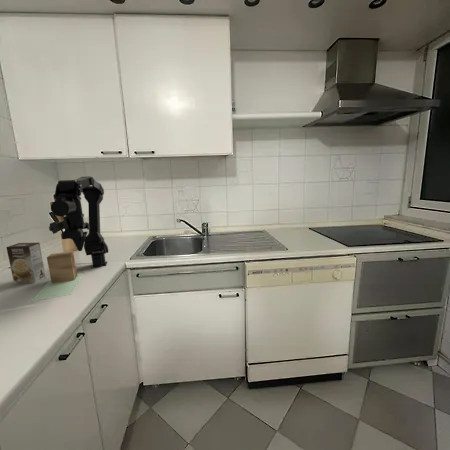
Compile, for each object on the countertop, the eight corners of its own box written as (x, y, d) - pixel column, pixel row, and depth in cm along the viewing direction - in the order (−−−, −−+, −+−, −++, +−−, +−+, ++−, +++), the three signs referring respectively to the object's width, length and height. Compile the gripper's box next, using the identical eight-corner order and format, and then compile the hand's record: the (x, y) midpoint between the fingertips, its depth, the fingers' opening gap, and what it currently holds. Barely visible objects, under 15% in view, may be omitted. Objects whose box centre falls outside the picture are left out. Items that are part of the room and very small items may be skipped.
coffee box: (13, 285, 96) (4, 247, 93) (25, 278, 102) (18, 242, 100) (36, 283, 96) (28, 245, 93) (47, 277, 103) (40, 241, 100)
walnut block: (55, 279, 99) (51, 254, 97) (77, 275, 102) (73, 251, 100) (51, 283, 95) (46, 257, 93) (74, 280, 97) (70, 254, 95)
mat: (52, 278, 101) (52, 277, 101) (84, 273, 105) (83, 272, 105) (30, 302, 81) (30, 301, 81) (71, 295, 85) (71, 294, 85)
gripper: (57, 211, 98) (63, 247, 101) (40, 218, 81) (48, 261, 84) (87, 209, 102) (92, 244, 105) (77, 215, 85) (84, 256, 88)
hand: (80, 250), depth 95 cm, fingers closed
